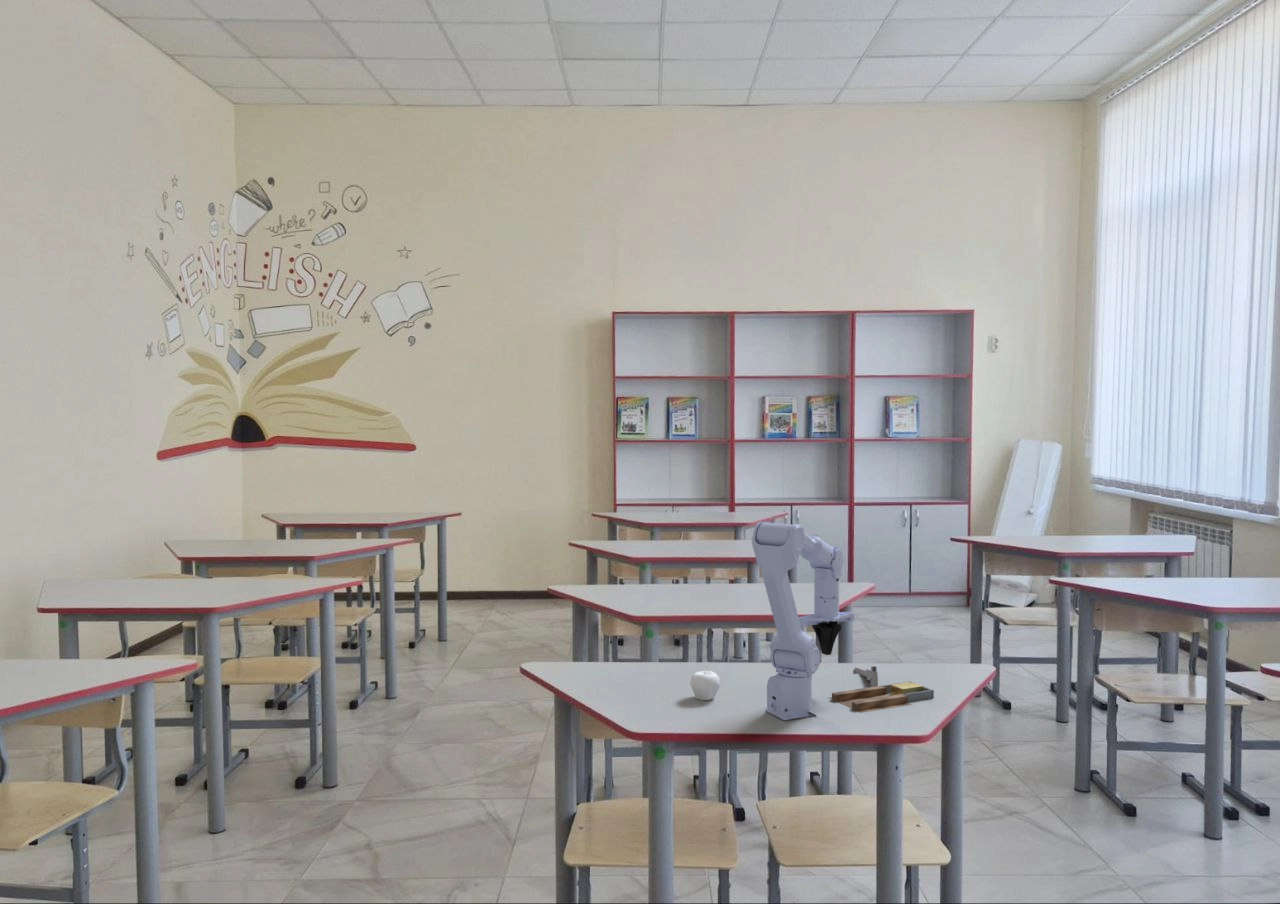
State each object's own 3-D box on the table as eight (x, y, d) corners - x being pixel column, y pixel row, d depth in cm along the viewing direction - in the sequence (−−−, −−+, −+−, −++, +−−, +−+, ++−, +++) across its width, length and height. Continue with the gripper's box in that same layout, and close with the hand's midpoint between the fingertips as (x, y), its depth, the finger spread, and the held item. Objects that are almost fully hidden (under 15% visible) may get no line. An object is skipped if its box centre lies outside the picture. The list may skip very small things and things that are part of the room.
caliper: (878, 694, 223) (878, 668, 223) (873, 694, 223) (873, 668, 223) (857, 671, 243) (857, 647, 243) (853, 671, 243) (853, 647, 243)
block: (902, 702, 214) (902, 689, 214) (890, 697, 218) (890, 684, 217) (922, 698, 216) (923, 686, 216) (911, 694, 220) (911, 681, 220)
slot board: (860, 717, 204) (860, 705, 204) (828, 702, 215) (828, 691, 215) (911, 709, 210) (911, 697, 210) (877, 695, 221) (877, 684, 221)
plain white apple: (690, 702, 215) (690, 668, 215) (689, 693, 222) (689, 660, 222) (721, 703, 215) (721, 668, 215) (719, 694, 222) (719, 660, 222)
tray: (905, 707, 212) (905, 694, 211) (883, 697, 219) (883, 685, 219) (933, 702, 215) (933, 690, 215) (910, 693, 222) (910, 681, 222)
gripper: (810, 602, 213) (810, 661, 214) (862, 596, 219) (862, 654, 220) (793, 596, 220) (793, 654, 220) (844, 592, 226) (843, 647, 226)
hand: (826, 653), depth 220 cm, fingers closed
